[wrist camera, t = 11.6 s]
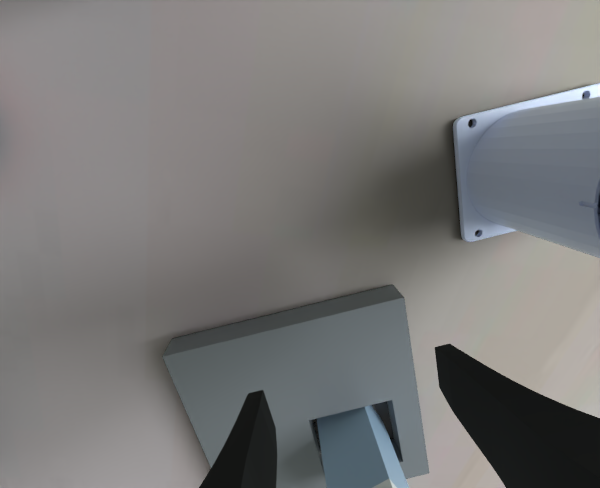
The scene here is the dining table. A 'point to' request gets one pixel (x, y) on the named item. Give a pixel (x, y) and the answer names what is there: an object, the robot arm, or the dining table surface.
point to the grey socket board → (304, 378)
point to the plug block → (358, 451)
